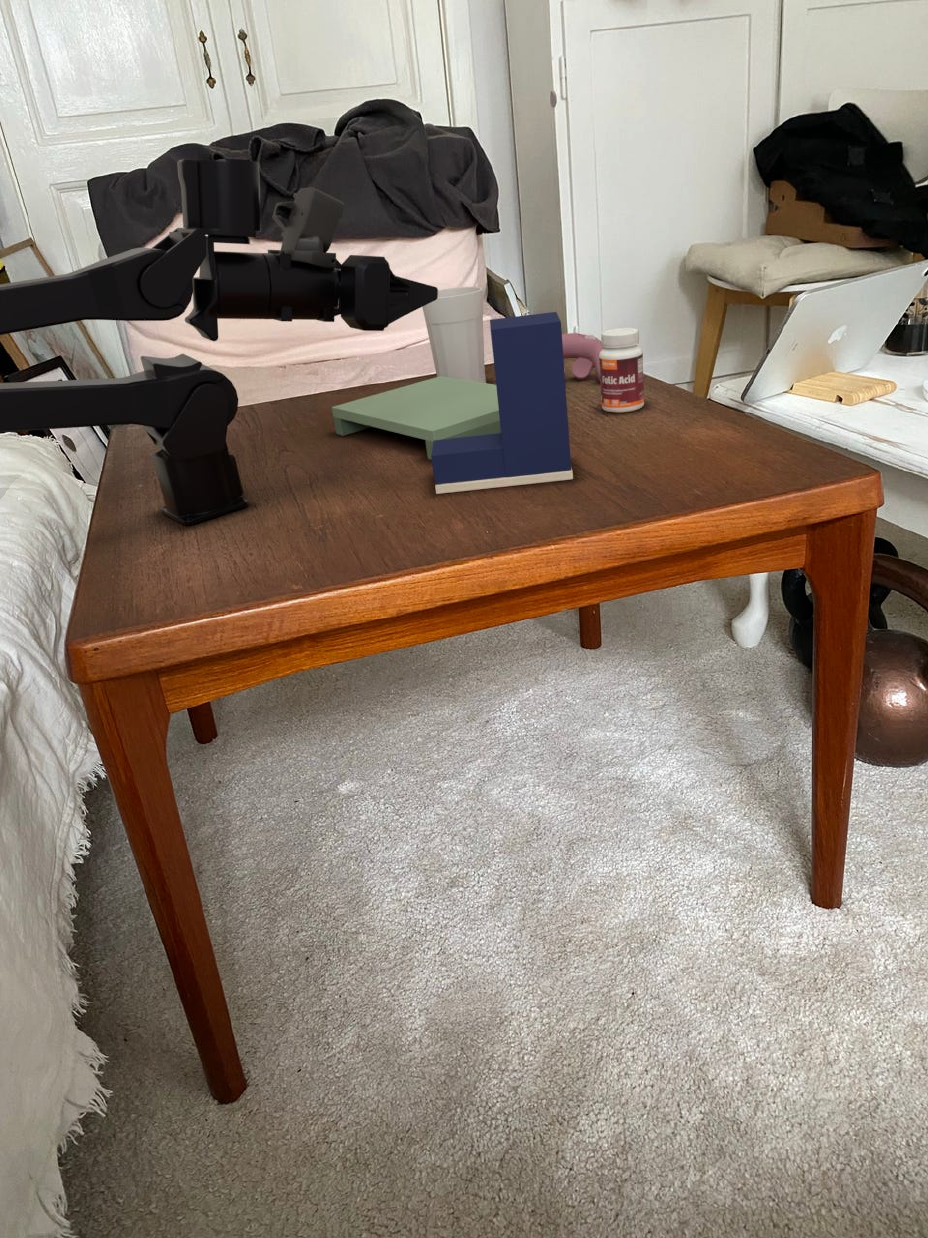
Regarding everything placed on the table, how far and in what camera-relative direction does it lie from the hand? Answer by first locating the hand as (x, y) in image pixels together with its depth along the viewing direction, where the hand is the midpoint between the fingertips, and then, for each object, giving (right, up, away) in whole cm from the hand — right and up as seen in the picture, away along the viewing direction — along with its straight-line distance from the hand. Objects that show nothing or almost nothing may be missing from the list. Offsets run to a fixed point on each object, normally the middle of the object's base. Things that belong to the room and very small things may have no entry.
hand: (415, 290), depth 94 cm
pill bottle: (+23, -9, +13) cm, 27 cm away
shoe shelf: (+2, -11, +14) cm, 18 cm away
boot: (+8, -19, -4) cm, 21 cm away
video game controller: (+18, -3, +27) cm, 33 cm away
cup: (+5, -2, +32) cm, 32 cm away
